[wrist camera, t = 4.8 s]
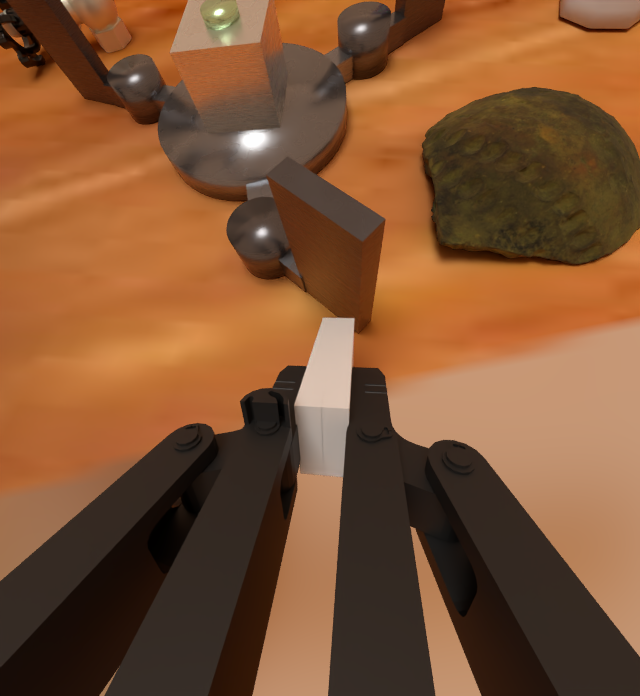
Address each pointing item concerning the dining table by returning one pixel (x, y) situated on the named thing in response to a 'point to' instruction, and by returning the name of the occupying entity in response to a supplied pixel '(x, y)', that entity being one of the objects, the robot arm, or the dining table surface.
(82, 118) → the dining table surface
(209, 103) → the tribrach
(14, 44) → the valve
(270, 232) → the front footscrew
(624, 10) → the flask
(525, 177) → the pottery fragment
